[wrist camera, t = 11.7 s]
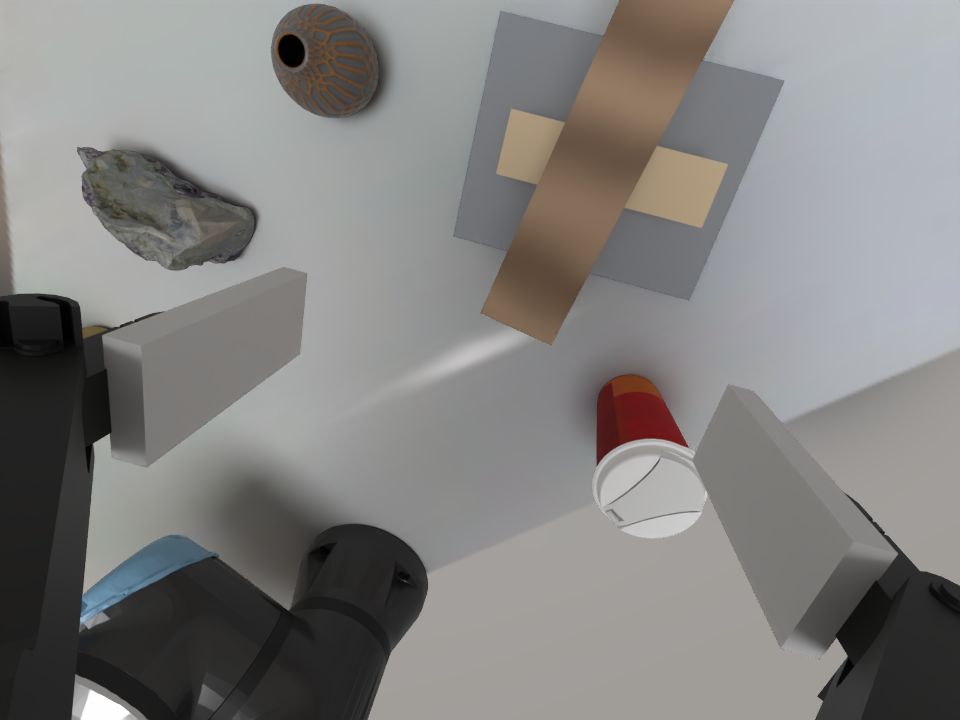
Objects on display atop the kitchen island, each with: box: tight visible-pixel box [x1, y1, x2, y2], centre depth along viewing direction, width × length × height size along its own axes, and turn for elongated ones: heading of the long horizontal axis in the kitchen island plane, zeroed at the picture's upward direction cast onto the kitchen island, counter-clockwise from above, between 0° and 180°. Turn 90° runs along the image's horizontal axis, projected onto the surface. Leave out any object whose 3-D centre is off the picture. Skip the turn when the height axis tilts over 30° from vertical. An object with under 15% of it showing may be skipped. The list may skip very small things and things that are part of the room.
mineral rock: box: [77, 147, 254, 270], centre depth 40 cm, size 13×11×10 cm
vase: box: [271, 4, 379, 118], centre depth 35 cm, size 7×7×9 cm
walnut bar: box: [481, 0, 734, 345], centre depth 29 cm, size 22×5×5 cm, turn 157°
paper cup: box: [592, 375, 708, 538], centre depth 39 cm, size 8×8×14 cm
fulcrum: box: [454, 11, 784, 300], centre depth 35 cm, size 16×20×7 cm
